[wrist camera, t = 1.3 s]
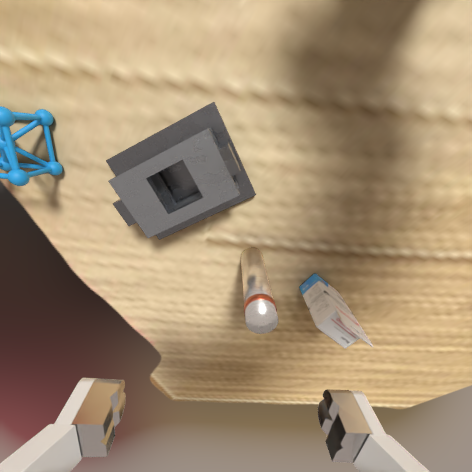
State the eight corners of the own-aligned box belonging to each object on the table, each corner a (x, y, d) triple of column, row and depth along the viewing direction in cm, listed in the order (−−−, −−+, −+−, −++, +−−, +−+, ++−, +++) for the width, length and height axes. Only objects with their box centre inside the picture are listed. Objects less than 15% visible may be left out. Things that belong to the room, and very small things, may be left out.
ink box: (297, 286, 54) (319, 340, 41) (314, 271, 52) (343, 323, 39) (323, 306, 56) (352, 364, 43) (340, 293, 55) (375, 348, 41)
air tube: (257, 243, 49) (271, 303, 33) (266, 261, 51) (283, 327, 35) (236, 252, 50) (239, 315, 34) (246, 270, 52) (253, 338, 36)
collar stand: (214, 102, 39) (210, 97, 31) (255, 192, 45) (260, 207, 37) (109, 159, 42) (82, 167, 34) (161, 236, 48) (147, 258, 41)
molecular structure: (66, 174, 43) (23, 188, 34) (6, 169, 43) (-55, 181, 33) (55, 110, 39) (2, 106, 30) (-12, 103, 38) (-87, 97, 29)
